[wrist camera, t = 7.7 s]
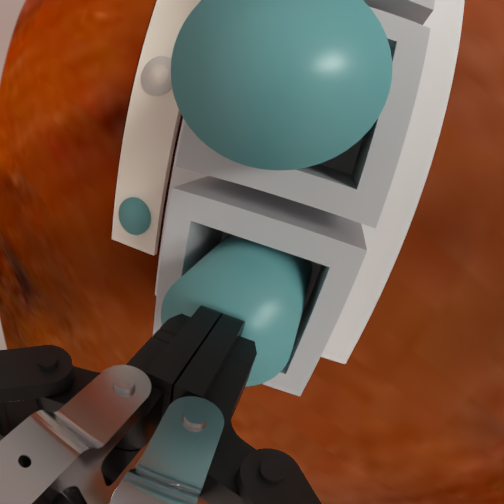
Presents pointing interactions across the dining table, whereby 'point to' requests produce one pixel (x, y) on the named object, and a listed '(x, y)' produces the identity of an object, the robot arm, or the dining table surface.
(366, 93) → the button
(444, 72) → the board
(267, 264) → the button
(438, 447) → the dining table surface
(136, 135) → the card
